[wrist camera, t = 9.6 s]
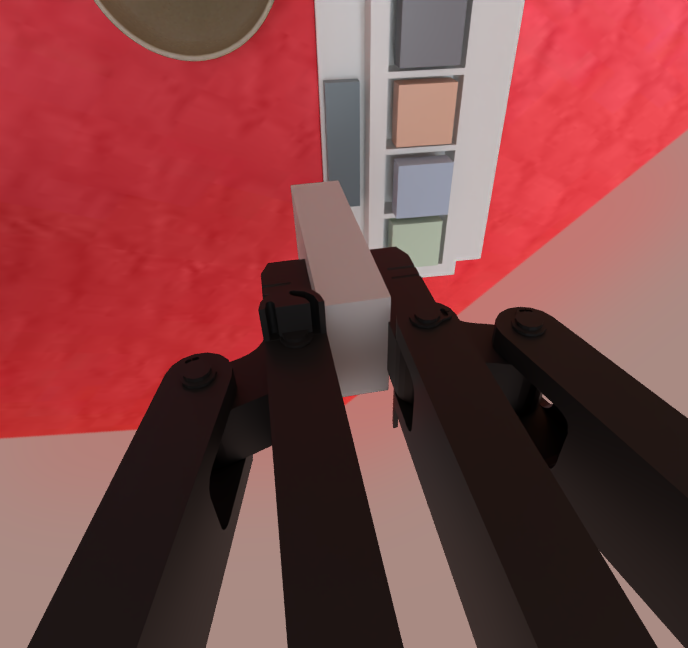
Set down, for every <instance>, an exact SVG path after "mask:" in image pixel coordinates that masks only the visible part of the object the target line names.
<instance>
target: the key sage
mask: <svg viewBox="0 0 688 648" xmlns="http://www.w3.org/2000/svg"><path fill="white" fill-rule="evenodd" d="M442 223H443V221H442V219H441V218H440V217H439V215H437V216H425V217H413V218H400V219H396V218H389V223H388V247H395V246H396V247H397V248H399V249H401V250H402V251H404V252H405V253H407V254H408V255H409V257H410V258H411V260H412V262H413V264H414V267H423V266H434V265H438V259H439V250H440V241H441V232H442Z"/></svg>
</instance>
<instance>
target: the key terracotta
mask: <svg viewBox="0 0 688 648" xmlns="http://www.w3.org/2000/svg"><path fill="white" fill-rule="evenodd" d="M457 89H458V82H457V81H456V80H454V79H453V78H451V77H445V78H426V79H408V80H394V86H393V114H392V142H393V143H394V145H395V146H396V147H410V146H424V145H439V144H451V142H452V133H453V125H454V116H455V107H456V98H457Z"/></svg>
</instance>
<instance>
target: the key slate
mask: <svg viewBox="0 0 688 648" xmlns="http://www.w3.org/2000/svg"><path fill="white" fill-rule="evenodd" d="M453 166H454V162H453V161H452V160H451V158H450V157H449V156H448V155H438V156H423V157H409V158H395V159H394V166H393V191H392V211H393V213H394V215H395V217H396V219H400V218H413V217H425V216H437V215H448V209H449V200H450V192H451V183H452V175H453Z"/></svg>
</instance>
